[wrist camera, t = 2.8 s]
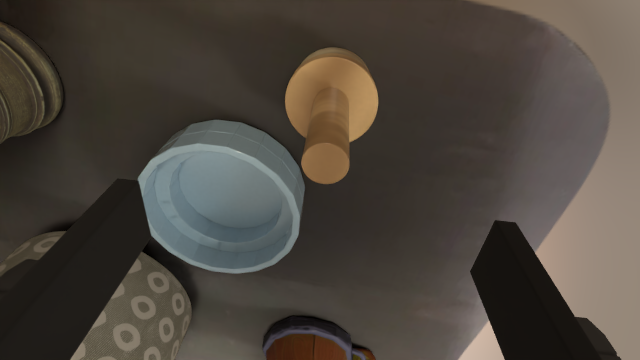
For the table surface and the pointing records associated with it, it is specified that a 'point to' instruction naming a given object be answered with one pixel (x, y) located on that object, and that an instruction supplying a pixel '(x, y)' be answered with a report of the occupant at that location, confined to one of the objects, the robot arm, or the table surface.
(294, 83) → the brush
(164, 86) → the table surface
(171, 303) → the planter
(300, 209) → the bowl
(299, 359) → the mug
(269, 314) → the table surface
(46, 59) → the container
